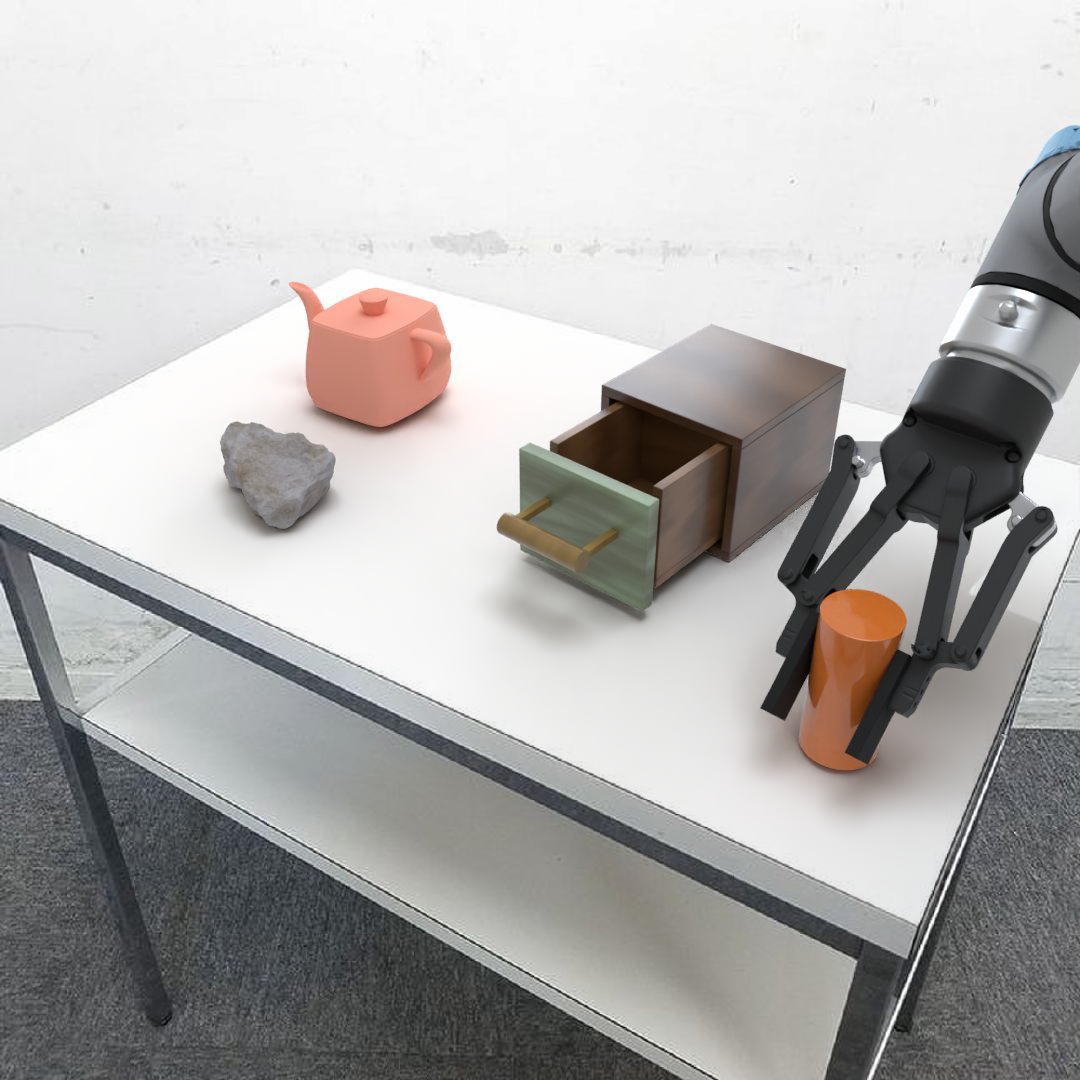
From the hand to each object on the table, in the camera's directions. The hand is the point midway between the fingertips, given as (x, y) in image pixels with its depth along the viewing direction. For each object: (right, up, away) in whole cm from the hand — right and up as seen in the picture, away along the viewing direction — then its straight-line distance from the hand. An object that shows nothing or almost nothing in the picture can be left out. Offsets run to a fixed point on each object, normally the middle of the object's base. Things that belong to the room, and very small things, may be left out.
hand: (813, 735), depth 69 cm
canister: (+2, -1, +4) cm, 5 cm away
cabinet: (-2, +15, +28) cm, 32 cm away
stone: (-37, +14, +27) cm, 48 cm away
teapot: (-31, +24, +42) cm, 57 cm away
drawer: (-10, +10, +20) cm, 24 cm away
